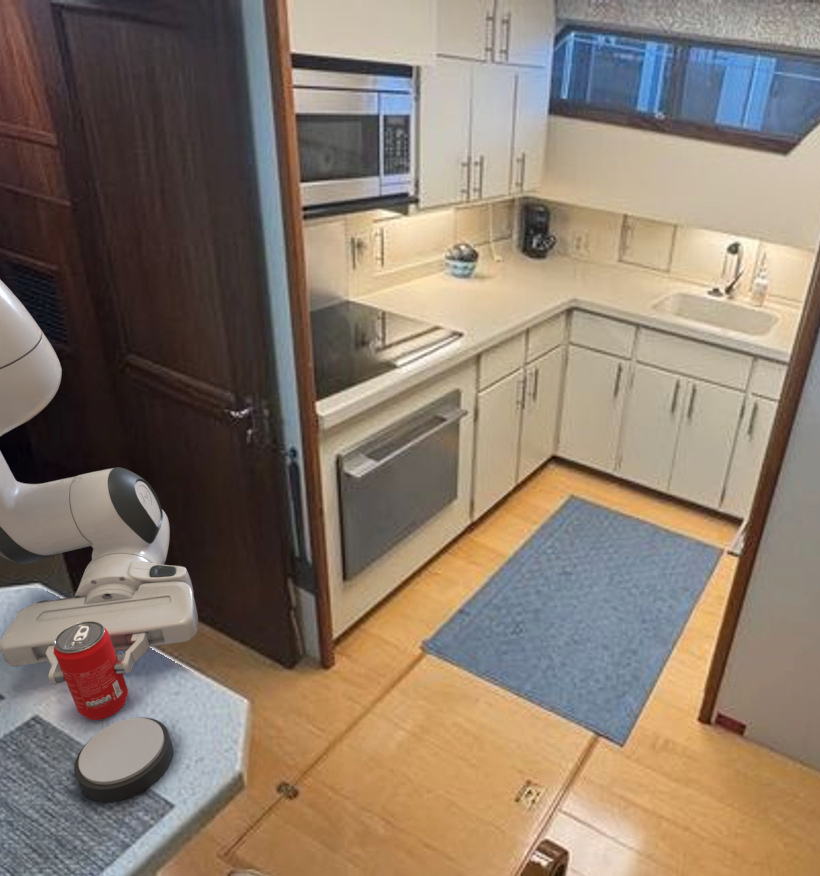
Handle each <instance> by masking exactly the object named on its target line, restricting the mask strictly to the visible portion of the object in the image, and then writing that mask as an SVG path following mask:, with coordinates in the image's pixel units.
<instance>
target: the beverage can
mask: <svg viewBox="0 0 820 876" xmlns="http://www.w3.org/2000/svg"><path fill="white" fill-rule="evenodd" d="M54 653H55V656H56V658H57V661H58V663H59V666H60V668H61V671H62V673H63V676H64V678H65V681H66V682H65V683H66V686H67V688H68V690H69V693H70V696H71V698H72V701H73V703H74V706H75V707H76V710H77V712H78V714H79V715H81V716H83V717H85V718H86V719H87V720H90V721H104V720H106V719H109V718H112V717H113V716H115V715H117V714H118V713H119V712H120V711H121V710H122V709H123V708H124V707H125V705H126V704H127V703H126V702H127V698H128V695H129V688H128V686H127V683H126V680H125V677H124V673H123V674H116V673H115V672H116V670H114V663H115V661H116V655H117V652H115V650H114V647H113V645H112V642H111V639H110V636H109V633H108V631H107V629H106V628H104V627H103V625H102V624H100V623H98V622H93V621H87V622H81V623H77V624H74V625H72V626H70V627H68V628H66V629H64V630H63V631H62V632H61V633H60V634H59V635H58V636H57V637H56V639H55V642H54Z"/></svg>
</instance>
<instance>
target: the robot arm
mask: <svg viewBox="0 0 820 876" xmlns="http://www.w3.org/2000/svg"><path fill="white" fill-rule="evenodd" d="M58 357H59V356H58V355H57V352H56V351H55V349H54V347H53V346H52V344H51V342H50V341H49V339H48V338H47V336H46V335H45V333H44V331H43V330H42V329H41V327H40V326H39V325H38V323H37V322H36V320H35V319H34V318H33V316H32V315H31V313H30V311H28V310H27V308H26V307H25V305H24V304H23V303H22V302H21V300H20V299H19V298H18V297H17V296H16V295H15V294H14V292H13V291H12V290H11V289H10V288H9V287H8V286H7V285H6V283H4V281H2V280H1V279H0V437H2V436H3V435H6V434H7V433H8V432H10V431H12V430H14V429H15V428H17V427H20V426H21V425H23V424H26V423H27V422H29V421H30V420H32V419H33V418H34V417H35V416H37V415H39V414H40V413H41V412H42V411H43V410H44V409H45V408H46V407H48V405H49V404H50V403H51V401H53V399H54V397H55V396H56V394H57V392H58V391H59V388H60V385H61V381H62V371H63V369H62V366H61V362H60V359H59V358H58ZM170 532H171V529H170V522H169V518H168V515H167V514H166V512H165V511H164V510H163V508H162V505H161V501H160V499H159V496H158V494H157V492H156V491H155V490H154V488H153V487H152V485H151V484H150V483H149V482H148V481H147V480H146V479H144V478H143V477H141V475H138V474H137V473H135V472H133V471H131V470H129V469H127V468H124V467H119V466H117V467H112V468H106V469H102V470H101V469H100V470H97V471H91V472H87V473H82V474H78V475H75V476H71V477H66V478H61V479H56V480H52V481H48V482H43V483H24V482H20V481H17V479H16V478H15V476H14V474H13V472H12V471H11V469H10V466H9V464H8V463H7V461H6V459H5V457H4V455H3V453H2V451H1V450H0V557H2V558H4V559H5V560H8V561H11V562H13V563H16V564H21V565H29V564H32V563H35V562H38V561H42V560H45V559H48V558H51V557H54V556H57V555H59V554H62V553H66V552H70V551H71V552H72V551H75V550H78V549H83V548H88V547H91V548H92V553H91V561H90V562H89V563H88V564H87V565H86V568H84V569H85V570H84V571H83V575H82V577H81V579H80V582H79V584H78V587H77V589H76V592H75V594H74V596H69V597H62V598H58V599H52V600H45V599H44V600H39V601H36V602H34V604H30V605H29V606H27V607H24V608H21V609H20V610H19V611H18V612H17V613H16V616H15V617H14V620H12V622H11V623H10V625H9V627H8V628H7V629H6V631H5V632H4V634H3V636H2V638H1V639H0V653H1V657H2V658H3V660H4V661H5V662H6V663H7V664H8V665H9V666H10V667H21V666H22V667H23V666H27V665H35V664H40V663H47V662H48V663H49V666H50V669H49V672H48V680H49V682H50V685H57V684H58V685H59V684H64V683H66V681H65V678H64V676H63V673H62V671H61V668H60V666H59V663H58V661H57V658H56V656H55V653H54V642H55V639H56V637H57V636H58V635H59V634H60V633H61V632H62V631H63V630H64V629H66V628H68V627H70V626H72V625H74V624H77V623H81V622H87V621H93V622H98V623H100V624H102V625H103V627H104V628H106V629H107V631H108V633H109V636H110V639H111V642H112V645H113V647H114V650H115V653H117V652H123V653H119V654H116V661H115V663H114V670H116V672H115V673H116V674H123V675H124V674H129V673H132V670H133V667H134V663H136V662H138V660H139V659H141V657H143V656H144V654H146V653H147V652H148V650H149V648H151V647H159V646H165V645H171V644H172V645H173V644H179V643H186V642H189V641H191V640H192V639H193V638H194V637H196V635H197V633H198V629H199V628H198V627H199V616H198V610H197V605H196V600H195V595H194V588H193V584H192V579H191V577H190V575H189V572H188V570H187V568H186V567H185V566H181V565H169V564H165V563H166V561H167V556H168V552H169V545H170V538H171V537H170V534H171V533H170Z"/></svg>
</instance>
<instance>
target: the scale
mask: <svg viewBox="0 0 820 876" xmlns="http://www.w3.org/2000/svg"><path fill="white" fill-rule="evenodd" d="M173 756H174V746H173V742H172V740H171V735H170V732H169V730H168V728H167V727H166V726H165V724H163V723H162V722H161V721H159V720H157V719H155V718H150V717H143V716H142V717H130V718H127V719H122V720H119V721H116V722H113V723H112V724H109V725H108V726H106V727H104V728H103V729H101V730H100V731H98V732H97V733H96V734H94V735H93V736H91V738H89V740H88V741H87V742H86V743H85V744H84V745H83V746H82V748H81V749H80V750H79V752H78V754H77V756H76V759H75V762H74V767H73V768H74V769H73V771H74V776H75V778H76V780H77V783H78V785H79V787H80V789H81V792H82V793H83V794H84V795H85V796H86V798H89V799H90V800H92V801H96V802H99V803H113V802H114V803H115V802H120V801H125V800H128V799H130V798H133V797H136V796H138V795H139V794H141V793H143V792H144V791H146V790H148V789H149V788H150V787H153V785H154V784H155V783H157V782H158V781H159V780H160V779H161V778H162V777H163V775H165V773H166V771H167V770H168V768H169V767H170V764H171V762H172V760H173Z"/></svg>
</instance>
